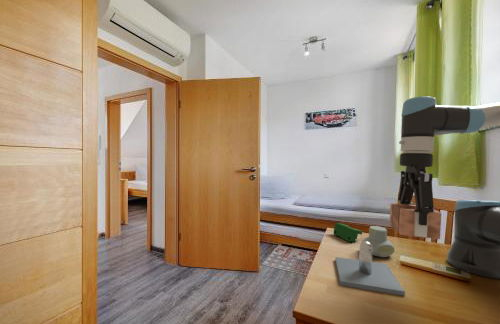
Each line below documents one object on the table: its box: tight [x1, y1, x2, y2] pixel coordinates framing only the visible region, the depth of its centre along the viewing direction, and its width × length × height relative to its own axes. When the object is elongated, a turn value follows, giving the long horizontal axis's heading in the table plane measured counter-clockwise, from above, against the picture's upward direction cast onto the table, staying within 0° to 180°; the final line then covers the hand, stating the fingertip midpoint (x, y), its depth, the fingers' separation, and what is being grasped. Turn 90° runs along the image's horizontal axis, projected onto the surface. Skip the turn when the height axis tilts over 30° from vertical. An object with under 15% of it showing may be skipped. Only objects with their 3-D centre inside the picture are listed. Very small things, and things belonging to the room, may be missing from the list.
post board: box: [335, 257, 406, 297], centre depth 69 cm, size 16×16×1 cm
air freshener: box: [361, 225, 396, 258], centre depth 84 cm, size 11×8×10 cm
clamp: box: [333, 222, 363, 243], centre depth 101 cm, size 12×6×9 cm, turn 14°
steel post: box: [358, 241, 373, 275], centre depth 68 cm, size 4×4×10 cm
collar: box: [389, 202, 442, 240], centre depth 63 cm, size 9×9×7 cm
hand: (412, 230), depth 63 cm, fingers closed on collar, 9 cm apart
